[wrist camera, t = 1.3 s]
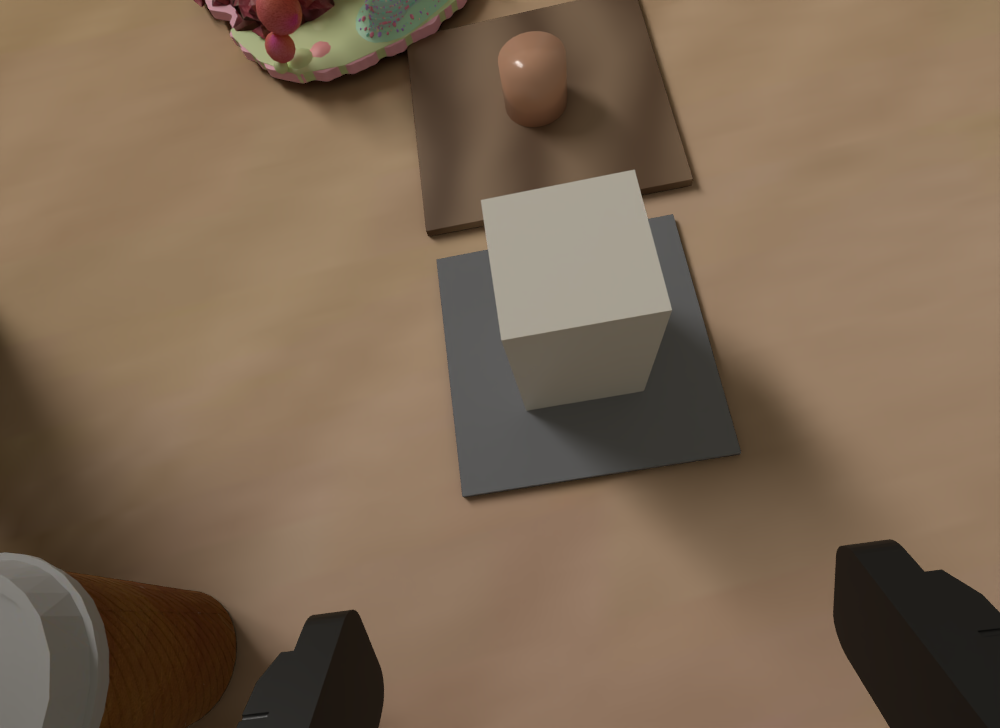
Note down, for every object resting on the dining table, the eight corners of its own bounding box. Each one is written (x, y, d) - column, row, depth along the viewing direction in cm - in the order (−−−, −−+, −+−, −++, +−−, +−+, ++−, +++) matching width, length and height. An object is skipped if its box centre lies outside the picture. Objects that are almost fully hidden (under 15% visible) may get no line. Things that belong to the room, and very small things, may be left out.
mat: (463, 497, 30) (462, 496, 29) (438, 262, 34) (436, 259, 34) (739, 454, 28) (741, 452, 28) (671, 218, 33) (672, 214, 33)
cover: (526, 410, 30) (501, 340, 21) (509, 306, 32) (480, 200, 23) (643, 391, 30) (672, 310, 20) (619, 286, 32) (634, 169, 23)
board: (428, 236, 35) (426, 231, 35) (408, 45, 41) (406, 38, 40) (691, 185, 34) (692, 178, 33) (633, -5, 39) (633, -13, 39)
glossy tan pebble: (492, 110, 37) (484, 65, 34) (530, 69, 38) (526, 21, 34) (541, 137, 36) (537, 94, 33) (580, 94, 37) (579, 47, 33)
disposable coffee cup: (301, 603, 29) (123, 626, 18) (203, 808, 26) (-77, 986, 15) (157, 529, 31) (-81, 507, 20) (54, 711, 29) (-282, 802, 18)
